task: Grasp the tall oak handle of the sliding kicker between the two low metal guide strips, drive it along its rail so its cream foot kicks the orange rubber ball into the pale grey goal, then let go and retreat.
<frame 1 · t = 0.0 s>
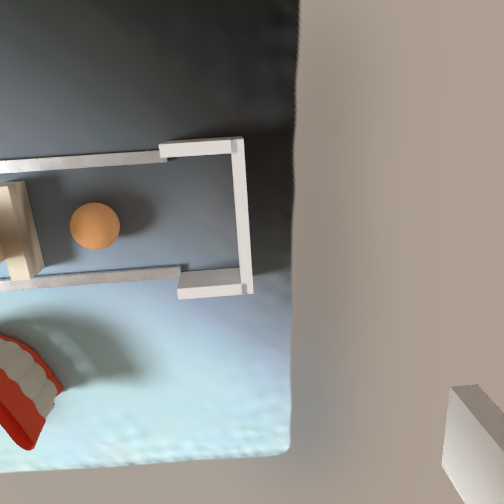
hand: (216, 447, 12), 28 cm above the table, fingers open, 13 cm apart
goal: (207, 212, 38), on the table
rails: (68, 222, 37), on the table
ball: (95, 226, 36), point 2 cm above the table
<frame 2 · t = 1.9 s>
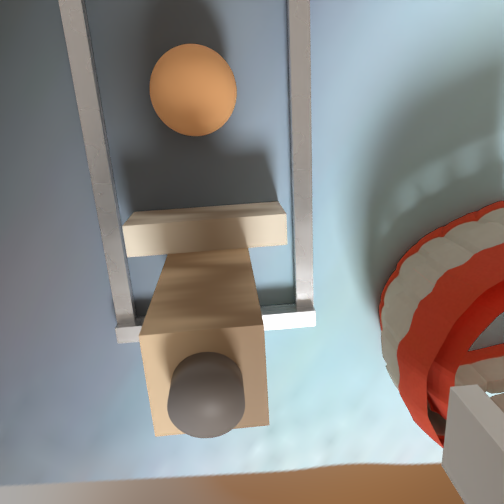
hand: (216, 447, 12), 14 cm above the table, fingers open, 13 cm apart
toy: (438, 304, 27), on the table
kicker: (208, 299, 18), point 6 cm above the table, slide at 0.0 cm
rails: (201, 153, 22), on the table
ball: (193, 91, 19), point 2 cm above the table
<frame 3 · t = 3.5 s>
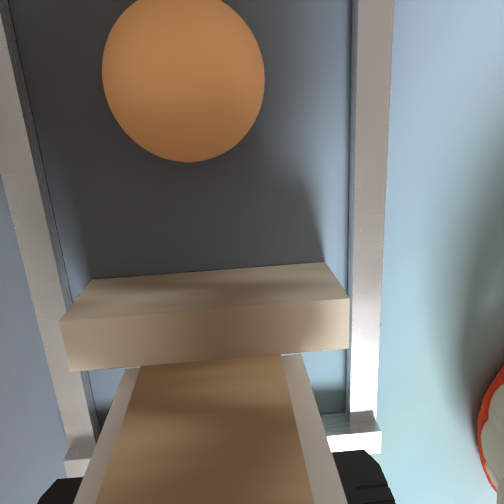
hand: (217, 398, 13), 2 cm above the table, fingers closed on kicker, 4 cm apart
kicker: (211, 482, 9), point 6 cm above the table, slide at 0.0 cm, touching gripper
rails: (201, 186, 13), on the table
ball: (185, 81, 11), point 2 cm above the table
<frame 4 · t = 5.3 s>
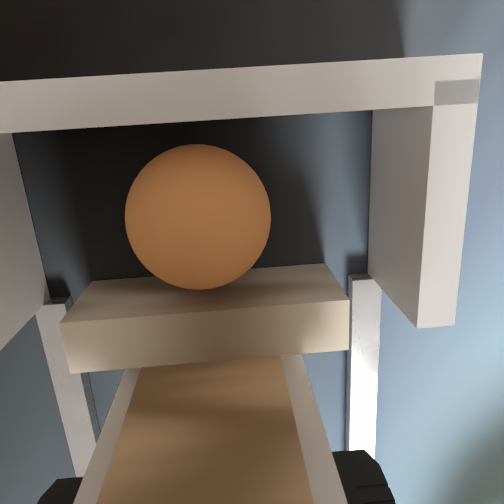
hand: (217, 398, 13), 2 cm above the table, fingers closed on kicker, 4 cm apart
kicker: (211, 484, 9), point 6 cm above the table, slide at 12.9 cm, touching gripper
goal: (202, 199, 14), on the table
rails: (231, 493, 18), on the table
ball: (199, 218, 12), point 2 cm above the table, tilted 100°
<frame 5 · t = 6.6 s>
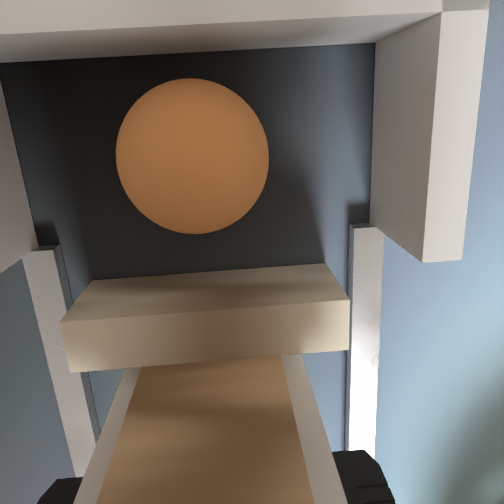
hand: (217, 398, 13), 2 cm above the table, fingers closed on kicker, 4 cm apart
kicker: (211, 483, 9), point 6 cm above the table, slide at 11.1 cm, touching gripper
goal: (197, 141, 13), on the table
rails: (227, 459, 17), on the table
ball: (194, 159, 11), point 2 cm above the table, tilted 106°
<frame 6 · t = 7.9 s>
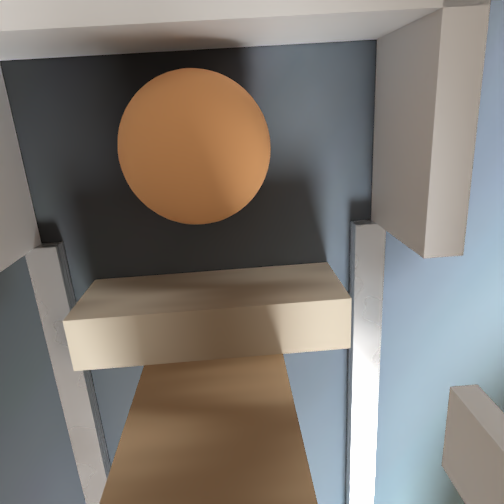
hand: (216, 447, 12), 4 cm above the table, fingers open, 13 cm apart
kicker: (214, 480, 10), point 6 cm above the table, slide at 11.0 cm
goal: (199, 138, 13), on the table
rails: (229, 456, 17), on the table
ball: (195, 149, 11), point 2 cm above the table, tilted 101°
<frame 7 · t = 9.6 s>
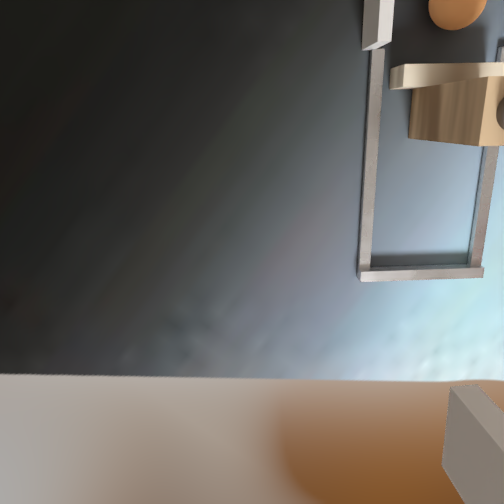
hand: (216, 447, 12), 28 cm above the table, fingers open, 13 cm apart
kicker: (473, 100, 30), point 6 cm above the table, slide at 11.0 cm
goal: (444, 7, 33), on the table
rails: (428, 166, 37), on the table
ball: (457, 0, 31), point 2 cm above the table, tilted 95°
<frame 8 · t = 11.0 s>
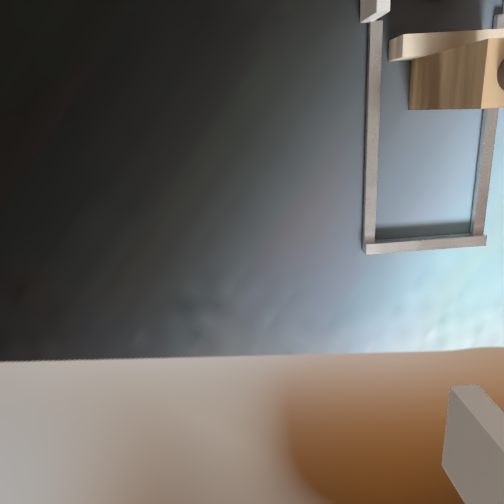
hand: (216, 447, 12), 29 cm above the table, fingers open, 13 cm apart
kicker: (473, 66, 30), point 6 cm above the table, slide at 11.0 cm
rails: (428, 137, 38), on the table
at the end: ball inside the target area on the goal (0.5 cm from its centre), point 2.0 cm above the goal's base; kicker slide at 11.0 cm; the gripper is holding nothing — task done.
